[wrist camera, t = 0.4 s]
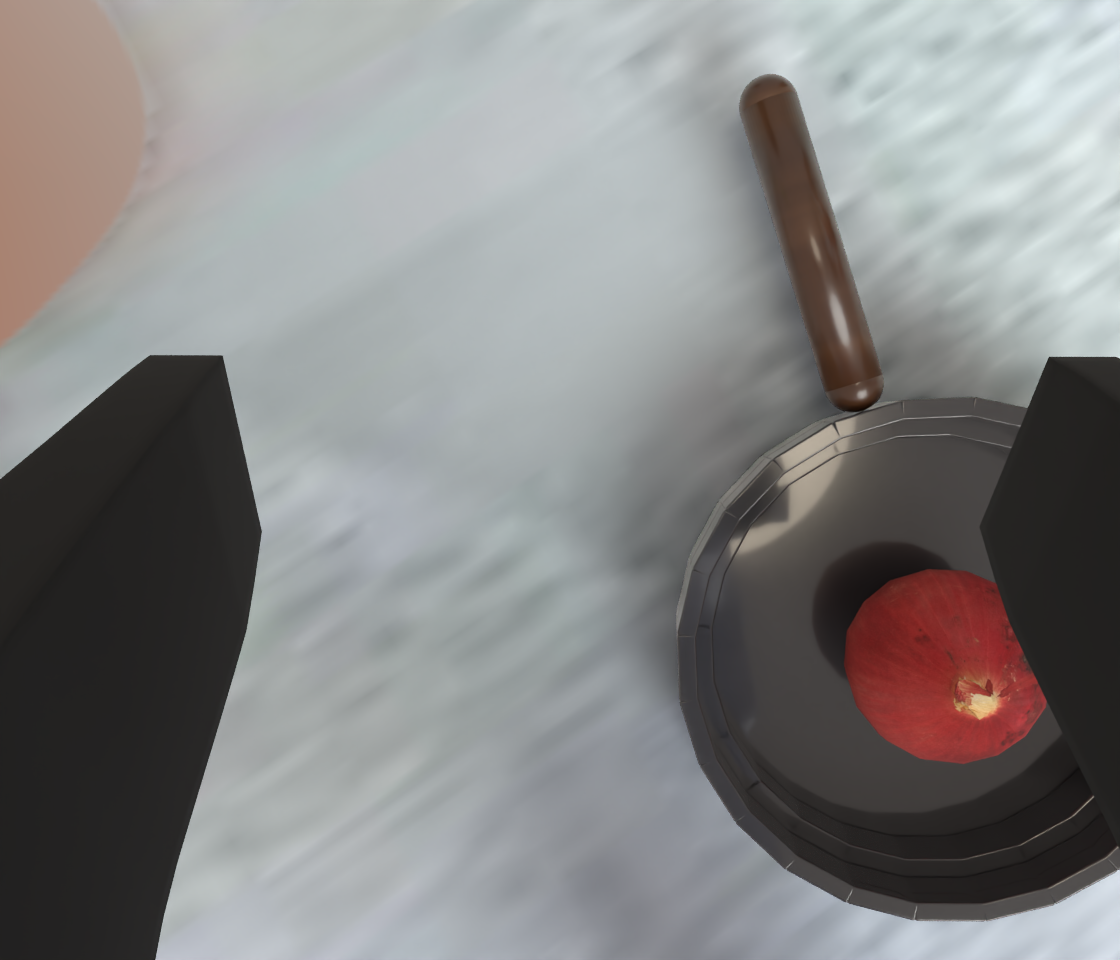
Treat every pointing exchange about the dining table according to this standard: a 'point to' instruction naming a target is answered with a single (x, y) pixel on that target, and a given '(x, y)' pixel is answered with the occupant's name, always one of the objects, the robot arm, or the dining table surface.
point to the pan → (823, 687)
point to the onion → (941, 667)
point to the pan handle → (811, 243)
